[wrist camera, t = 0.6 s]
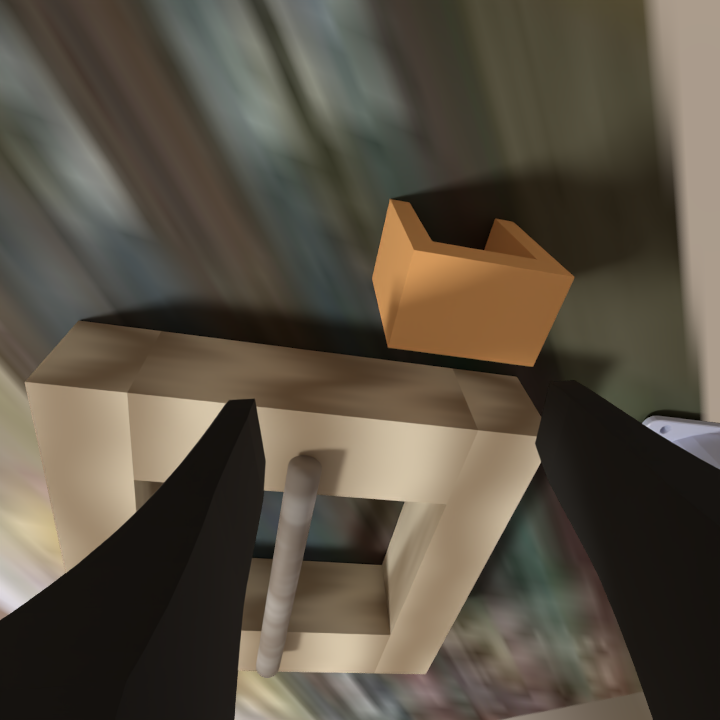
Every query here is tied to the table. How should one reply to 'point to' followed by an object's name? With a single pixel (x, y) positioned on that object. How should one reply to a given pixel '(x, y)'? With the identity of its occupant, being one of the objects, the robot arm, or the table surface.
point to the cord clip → (466, 291)
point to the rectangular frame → (297, 477)
